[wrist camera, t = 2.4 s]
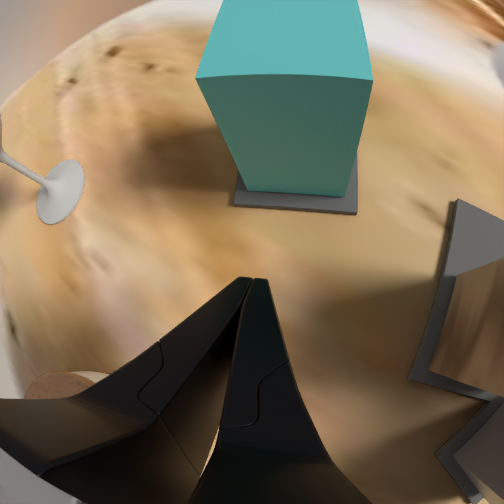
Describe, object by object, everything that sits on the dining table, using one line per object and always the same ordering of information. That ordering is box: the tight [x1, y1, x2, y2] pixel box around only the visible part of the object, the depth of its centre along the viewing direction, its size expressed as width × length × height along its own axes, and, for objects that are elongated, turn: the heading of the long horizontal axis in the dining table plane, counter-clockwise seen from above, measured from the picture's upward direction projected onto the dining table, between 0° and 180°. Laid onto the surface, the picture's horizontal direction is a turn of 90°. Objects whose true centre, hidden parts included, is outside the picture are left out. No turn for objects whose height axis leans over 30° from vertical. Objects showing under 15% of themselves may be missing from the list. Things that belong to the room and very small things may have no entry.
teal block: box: [195, 0, 373, 197], centre depth 17 cm, size 7×7×12 cm
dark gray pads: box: [233, 152, 504, 504], centre depth 20 cm, size 18×44×1 cm, turn 38°
